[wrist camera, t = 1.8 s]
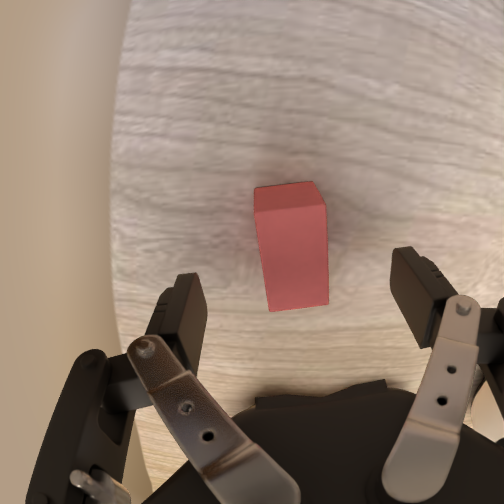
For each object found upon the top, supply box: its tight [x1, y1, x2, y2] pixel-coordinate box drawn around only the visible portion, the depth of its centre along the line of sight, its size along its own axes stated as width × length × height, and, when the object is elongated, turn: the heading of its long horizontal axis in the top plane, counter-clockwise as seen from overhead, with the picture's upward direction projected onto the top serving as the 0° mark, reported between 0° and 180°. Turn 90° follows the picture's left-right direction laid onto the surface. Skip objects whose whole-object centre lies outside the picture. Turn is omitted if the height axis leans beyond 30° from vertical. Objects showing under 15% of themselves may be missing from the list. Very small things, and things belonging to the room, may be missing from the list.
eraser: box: [254, 181, 329, 312], centre depth 14 cm, size 5×3×3 cm, turn 8°
